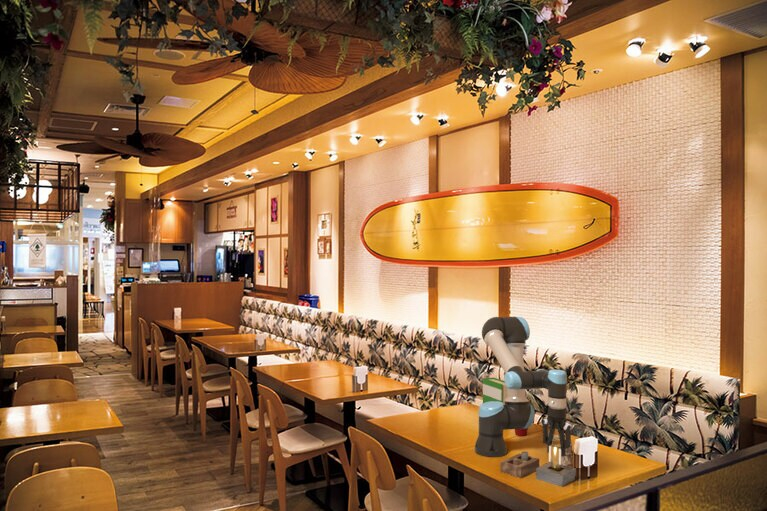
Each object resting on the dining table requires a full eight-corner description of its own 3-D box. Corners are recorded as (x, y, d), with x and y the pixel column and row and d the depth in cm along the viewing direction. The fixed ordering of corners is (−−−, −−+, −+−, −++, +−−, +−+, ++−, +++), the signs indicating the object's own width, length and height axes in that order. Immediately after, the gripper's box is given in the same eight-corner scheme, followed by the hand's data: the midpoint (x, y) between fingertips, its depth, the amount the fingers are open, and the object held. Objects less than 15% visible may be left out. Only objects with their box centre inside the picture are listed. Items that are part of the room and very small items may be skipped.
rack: (500, 472, 259) (500, 456, 259) (519, 463, 271) (519, 447, 271) (520, 478, 252) (521, 461, 252) (539, 468, 264) (539, 453, 264)
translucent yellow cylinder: (549, 479, 252) (549, 445, 252) (553, 476, 255) (554, 443, 255) (558, 481, 249) (558, 448, 249) (562, 479, 252) (563, 446, 252)
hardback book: (511, 426, 329) (512, 383, 330) (500, 428, 326) (501, 384, 326) (492, 418, 345) (493, 377, 345) (482, 420, 342) (483, 378, 342)
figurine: (557, 468, 265) (557, 441, 265) (561, 463, 271) (562, 437, 271) (573, 471, 262) (574, 444, 262) (577, 466, 268) (578, 440, 268)
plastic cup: (505, 433, 317) (506, 411, 317) (521, 431, 322) (522, 408, 322) (519, 439, 307) (519, 416, 307) (535, 436, 312) (535, 413, 312)
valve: (549, 447, 295) (569, 444, 300) (550, 433, 295) (569, 431, 300) (541, 443, 302) (560, 440, 306) (541, 430, 302) (561, 427, 306)
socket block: (536, 478, 252) (536, 468, 252) (549, 471, 260) (549, 461, 260) (562, 486, 243) (562, 475, 244) (575, 479, 252) (575, 468, 252)
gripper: (534, 404, 255) (533, 459, 255) (571, 412, 244) (571, 469, 243) (543, 402, 261) (542, 455, 261) (580, 409, 249) (579, 465, 249)
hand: (556, 462), depth 252 cm, fingers closed on translucent yellow cylinder, 4 cm apart
